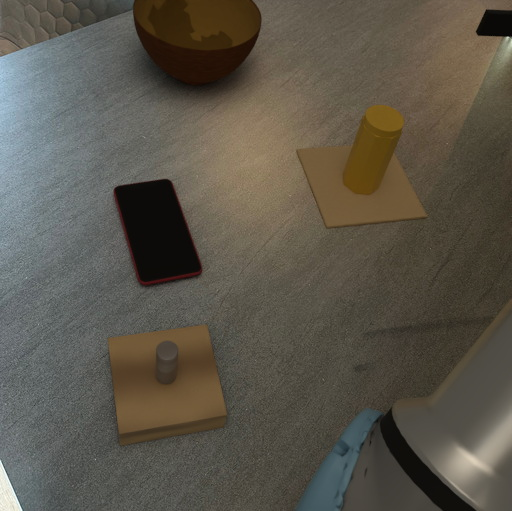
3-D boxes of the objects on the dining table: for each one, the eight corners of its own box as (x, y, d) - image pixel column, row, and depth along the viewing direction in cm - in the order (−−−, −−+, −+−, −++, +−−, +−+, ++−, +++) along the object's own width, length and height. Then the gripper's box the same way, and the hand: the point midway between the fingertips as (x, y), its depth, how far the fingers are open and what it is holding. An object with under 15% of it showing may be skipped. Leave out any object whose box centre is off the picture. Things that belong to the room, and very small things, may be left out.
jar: (379, 196, 83) (406, 133, 74) (344, 192, 82) (367, 128, 74) (376, 170, 86) (401, 107, 77) (341, 166, 85) (363, 102, 77)
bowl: (250, 117, 89) (260, 57, 81) (125, 102, 88) (123, 40, 80) (253, 45, 100) (262, -14, 92) (142, 30, 98) (141, -31, 91)
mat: (426, 218, 82) (427, 216, 82) (326, 228, 79) (327, 226, 78) (388, 144, 90) (389, 142, 90) (296, 150, 86) (296, 148, 86)
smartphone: (139, 284, 68) (111, 185, 76) (139, 289, 69) (112, 190, 77) (204, 271, 71) (170, 177, 79) (203, 276, 71) (170, 182, 79)
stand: (224, 427, 61) (233, 391, 55) (120, 446, 59) (116, 411, 52) (204, 338, 67) (210, 297, 60) (109, 352, 64) (104, 310, 58)
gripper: (726, 174, 63) (539, 177, 59) (607, 29, 78) (451, 23, 74) (786, 116, 57) (583, 114, 53) (645, -29, 72) (477, -39, 68)
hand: (505, 61), depth 63 cm, fingers open, 13 cm apart
